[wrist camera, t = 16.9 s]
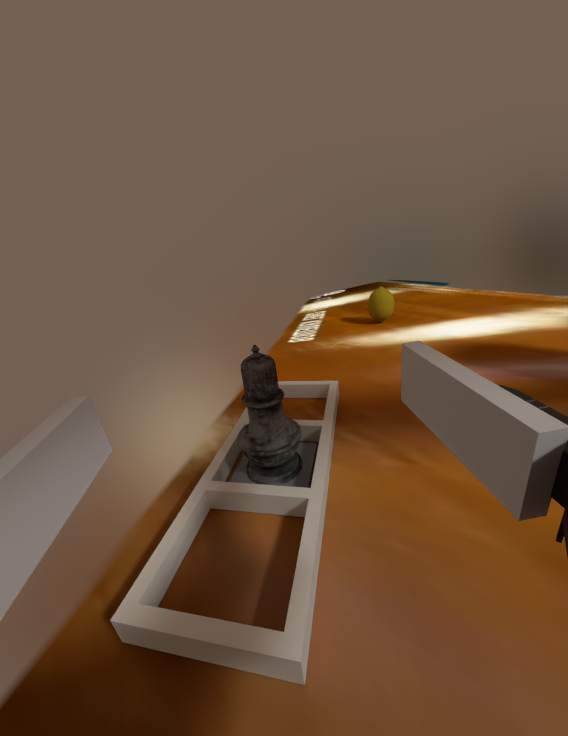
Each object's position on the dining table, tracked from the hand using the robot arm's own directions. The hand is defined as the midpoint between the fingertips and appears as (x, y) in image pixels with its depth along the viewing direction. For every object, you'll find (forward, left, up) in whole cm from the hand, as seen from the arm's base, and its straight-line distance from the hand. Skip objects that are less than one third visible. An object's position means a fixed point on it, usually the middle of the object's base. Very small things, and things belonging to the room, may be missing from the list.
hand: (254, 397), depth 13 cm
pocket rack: (-7, -9, -14) cm, 18 cm away
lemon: (-55, -25, -14) cm, 62 cm away
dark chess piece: (-7, -9, -14) cm, 18 cm away
